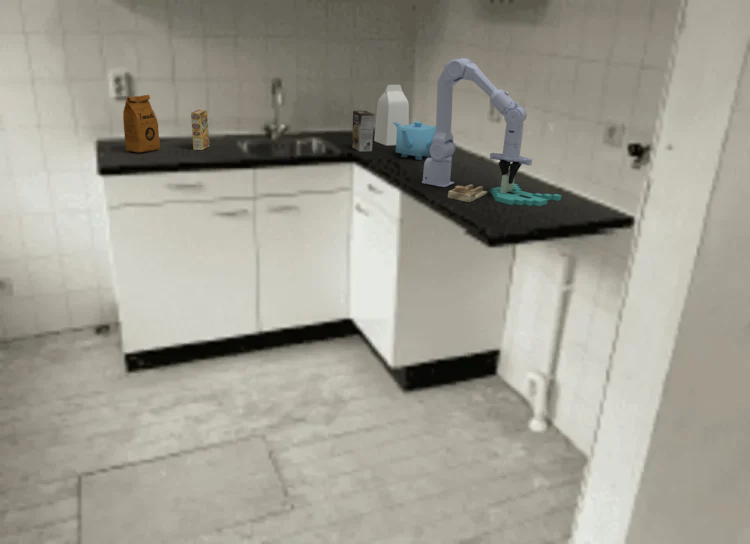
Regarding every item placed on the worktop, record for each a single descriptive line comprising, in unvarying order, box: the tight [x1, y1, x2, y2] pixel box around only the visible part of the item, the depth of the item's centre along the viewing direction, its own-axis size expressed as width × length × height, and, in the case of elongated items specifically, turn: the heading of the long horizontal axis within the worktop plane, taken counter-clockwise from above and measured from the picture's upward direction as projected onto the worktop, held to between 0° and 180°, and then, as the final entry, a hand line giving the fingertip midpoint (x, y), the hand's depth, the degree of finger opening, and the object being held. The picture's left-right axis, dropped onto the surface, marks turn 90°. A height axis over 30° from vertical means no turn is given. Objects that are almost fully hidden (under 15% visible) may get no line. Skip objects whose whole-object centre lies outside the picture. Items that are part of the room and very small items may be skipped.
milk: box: [373, 84, 410, 146], centre depth 306 cm, size 12×12×26 cm
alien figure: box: [490, 183, 562, 207], centre depth 229 cm, size 20×2×20 cm
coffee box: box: [351, 110, 375, 152], centre depth 291 cm, size 9×6×16 cm
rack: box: [447, 183, 488, 203], centre depth 228 cm, size 8×14×2 cm, turn 147°
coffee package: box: [122, 94, 161, 153], centre depth 267 cm, size 10×12×22 cm
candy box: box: [190, 109, 210, 151], centre depth 278 cm, size 9×4×15 cm, turn 174°
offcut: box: [454, 185, 470, 193], centre depth 224 cm, size 4×3×2 cm
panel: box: [500, 171, 516, 194], centre depth 230 cm, size 2×8×6 cm, turn 147°
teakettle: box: [393, 121, 436, 161], centre depth 281 cm, size 19×19×15 cm
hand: (507, 182), depth 230 cm, fingers closed on panel, 1 cm apart
